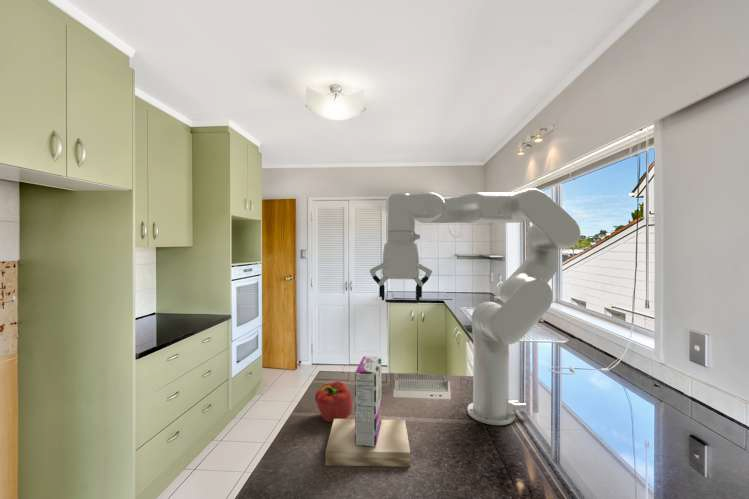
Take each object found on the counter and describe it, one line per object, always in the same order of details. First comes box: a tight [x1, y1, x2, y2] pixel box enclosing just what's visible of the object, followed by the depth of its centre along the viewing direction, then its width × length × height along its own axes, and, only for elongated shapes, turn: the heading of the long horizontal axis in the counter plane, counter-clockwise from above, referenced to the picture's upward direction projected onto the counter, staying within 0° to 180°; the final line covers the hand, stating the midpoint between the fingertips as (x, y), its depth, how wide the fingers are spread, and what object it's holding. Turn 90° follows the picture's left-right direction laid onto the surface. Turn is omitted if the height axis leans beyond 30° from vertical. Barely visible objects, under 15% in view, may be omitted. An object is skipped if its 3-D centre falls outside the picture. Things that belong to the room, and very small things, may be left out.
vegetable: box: [314, 381, 353, 423], centre depth 92 cm, size 11×10×10 cm
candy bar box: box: [354, 355, 382, 447], centre depth 79 cm, size 11×5×16 cm, turn 172°
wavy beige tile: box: [324, 418, 411, 468], centre depth 79 cm, size 18×14×3 cm
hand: (400, 299), depth 94 cm, fingers open, 9 cm apart
